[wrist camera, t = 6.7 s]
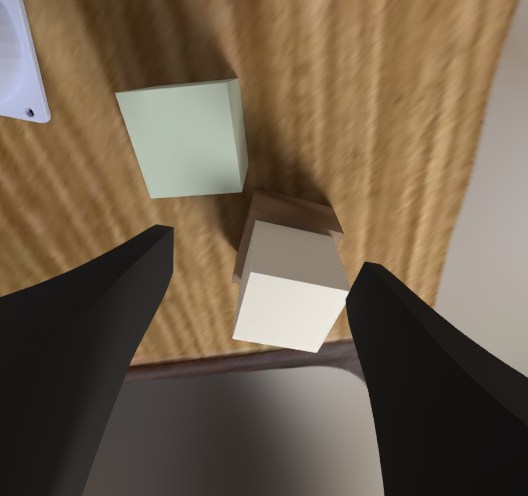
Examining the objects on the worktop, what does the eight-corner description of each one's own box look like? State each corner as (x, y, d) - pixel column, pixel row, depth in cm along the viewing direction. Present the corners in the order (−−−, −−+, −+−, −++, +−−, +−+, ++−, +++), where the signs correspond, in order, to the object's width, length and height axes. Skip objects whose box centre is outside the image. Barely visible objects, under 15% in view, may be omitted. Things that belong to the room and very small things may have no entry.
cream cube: (240, 279, 19) (232, 338, 15) (255, 219, 16) (250, 271, 12) (307, 292, 20) (316, 352, 16) (332, 236, 17) (352, 292, 13)
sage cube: (177, 169, 19) (151, 198, 15) (155, 86, 16) (115, 93, 12) (248, 164, 18) (241, 192, 14) (239, 77, 16) (226, 82, 11)
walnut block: (237, 250, 23) (231, 282, 19) (254, 185, 19) (251, 209, 16) (304, 266, 23) (309, 299, 20) (332, 206, 20) (343, 233, 17)
